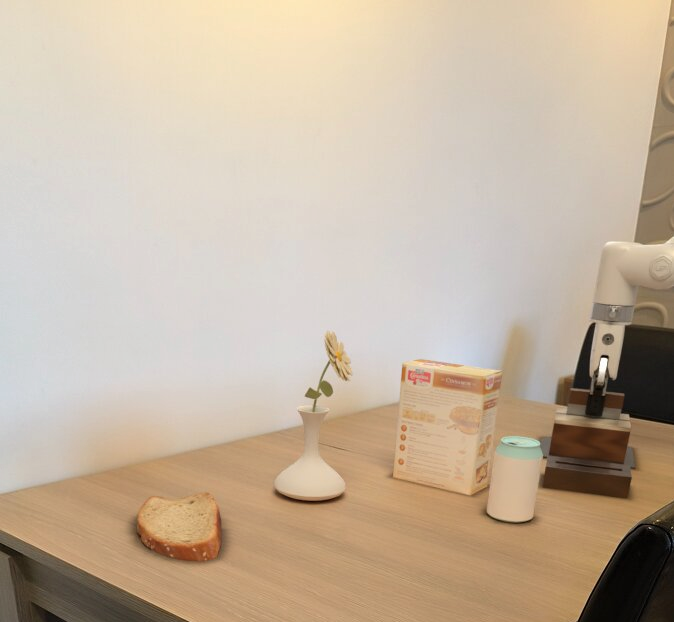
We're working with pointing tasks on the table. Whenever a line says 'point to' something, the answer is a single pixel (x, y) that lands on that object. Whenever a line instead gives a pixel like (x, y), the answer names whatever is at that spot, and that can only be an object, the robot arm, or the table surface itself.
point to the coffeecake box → (446, 425)
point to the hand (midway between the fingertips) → (593, 412)
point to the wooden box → (589, 439)
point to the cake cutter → (580, 401)
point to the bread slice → (181, 527)
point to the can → (515, 479)
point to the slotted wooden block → (587, 477)
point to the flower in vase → (316, 439)
